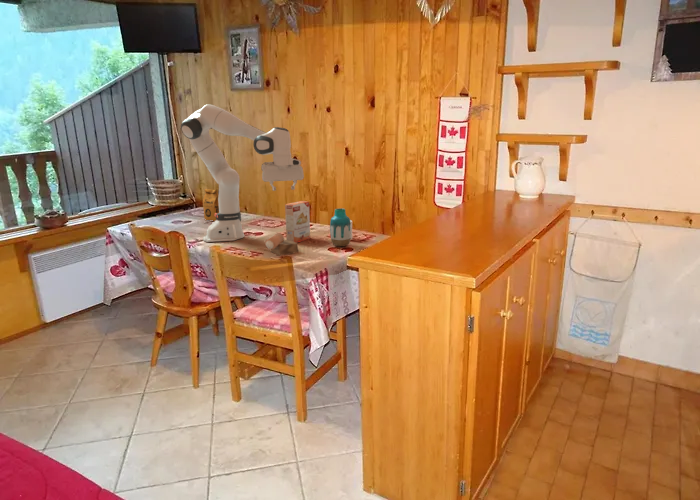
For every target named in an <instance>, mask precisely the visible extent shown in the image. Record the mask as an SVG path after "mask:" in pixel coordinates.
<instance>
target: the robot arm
mask: <svg viewBox="0 0 700 500" xmlns="http://www.w3.org/2000/svg"><path fill="white" fill-rule="evenodd" d="M210 129H212V130H215V131H217V132H218V133H220V134H223V135H226V136H233V137H234V136H235V137H244V138H247V139H250V140H251V141H253V148H254V149H253V150H255V152H256V153H257V154H259V155H262V156H267V155H272V161H268V162H267V161H265V162H263V163H262V164H261V165H260V166H261V167H260V168H261V172H262V173H261V178H262V181H263V182H269V185H270V186H271V188H272V191H274V192H275V191H277V187H276V186H274V185H273V184H274V182H287V181H293V184H292V185H290V190H293V191H294V190H296V188H295V187H296V185H297V183H298V181H302V180H304V178H305V175H304V169H303V166H302V161H301V160H300V159H296V158H292V153H291V148H292V144H291V143H292V140H291V134H290V131H289V130H288V129H287V128H285V127H278V126H275V127H273V128H272V129H271V130H270V131H267V132H266V131H264V130H261V129H259V128H258V127H255V126H253V125H251V124H249V123H247V122H245V121H244V120H243V119H240V118H239V117H238V116H236V115H234V114H233V113H231V112H230V111H228V110H225V109H224V108H222V107H220V106H216V105H214V104H210V103H207V104H205V105H203V106H202V107H200V108H199V109H197V110H195V111H194V112H193V113H191V114H190V115H189V116H188V117H187V118H186V119H184V120H183V121H182V122H181V125H180V130H181V132H182V134H183V135H184V137H186V138H188V140H189V142H190V145H191V147H192V148H193V149H194V151H195V152H196V154H197V155H198V157H199V158H200V159H201V161H202V162H203V163H204V165H205V166H206V169H207V170H208V171H209V173H210V176H211V177H212V179H214V182H216V184H217V185H218V194H219V197H218V203H219V213H218V214H217V213H215V215H214V216H215V217H216V221H215V222H212V223H211V224H210V225H209V226H208V227H207V230H206V235H204V236H203V238H202V240H203V242H205V243H206V242H207V243H211V242H229V241H236V240H240V239H242V238H243V239H244V237H245V234H244V231H243V228H242V227H243V226H242V213H241V210H240V198H239V195H240V180H241V179H240V174H239V173H238V172H237V170H236V169H234V168H232V167H231V166H230V164H229V163H228V161H227V159H226V158H225V156H224V154H223V151H221V149H220V148H219V146H218V145H217V143H216V142H215V141H214V139H213V137H212V136H211V134H210Z"/></svg>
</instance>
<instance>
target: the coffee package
mask: <svg viewBox="0 0 700 500" xmlns="http://www.w3.org/2000/svg"><path fill="white" fill-rule="evenodd" d="M204 192H205V194H204V196H203V199H202V207H203V217H204V220H205V219H206V220H213V221H216V217H215V216H214V215H215V213H217V214H218V213H219V203H218V197H219V191H218V190H217V189H211V188H210V189H207V188H205V189H204ZM206 220H205V221H206Z"/></svg>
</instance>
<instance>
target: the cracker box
mask: <svg viewBox="0 0 700 500" xmlns="http://www.w3.org/2000/svg"><path fill="white" fill-rule="evenodd" d="M284 207H285V209H284V210H285V211H284V212H285V213H284V214H285V233H286V234H285V235H286V239H285V240H291V241H293V242H296V243H297V244H298V243H300V242H303V241H306V240H309V239H311V225H310V223H311V221H310V219H311V218H310V201H306V200H300V201H296V202H290V203H286V204H284Z"/></svg>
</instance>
